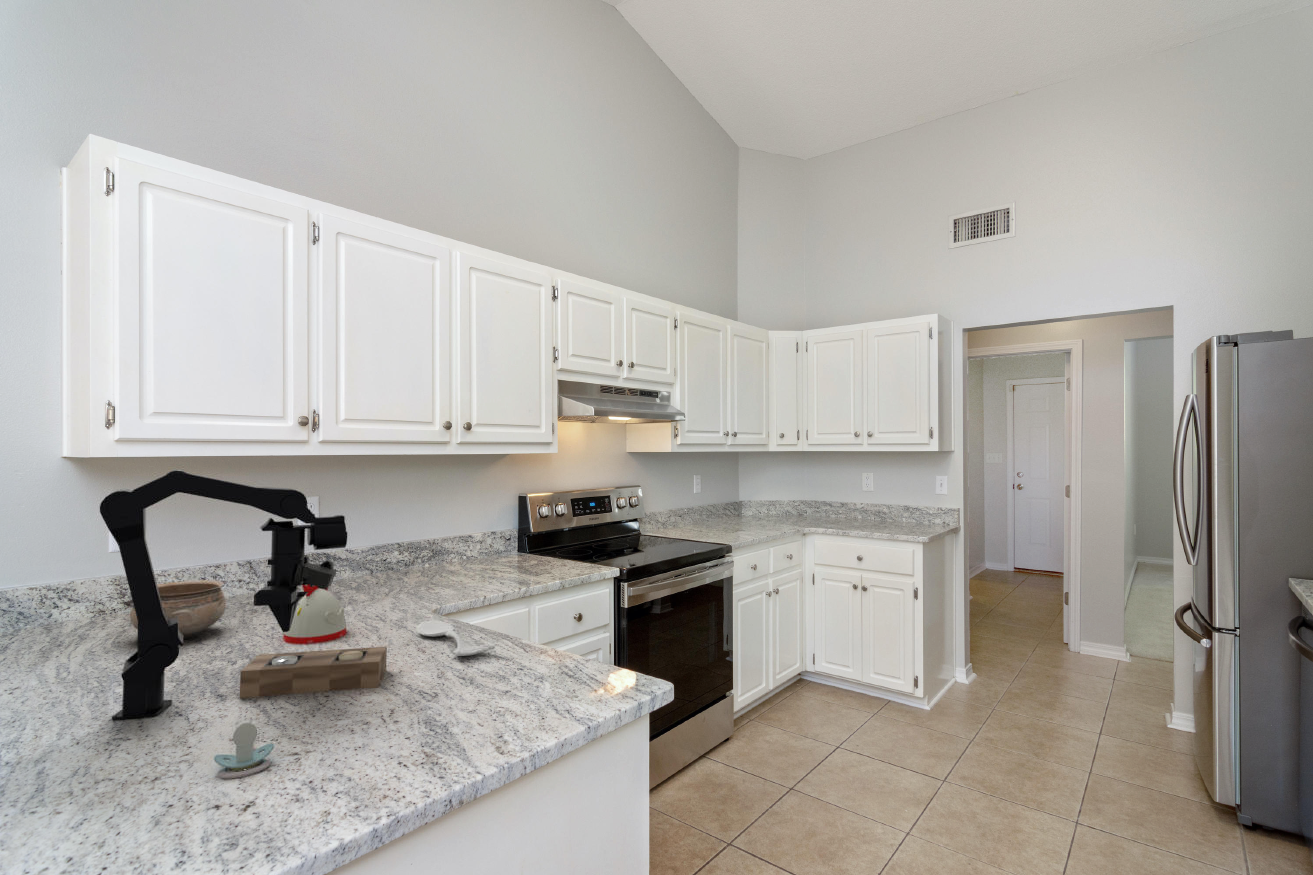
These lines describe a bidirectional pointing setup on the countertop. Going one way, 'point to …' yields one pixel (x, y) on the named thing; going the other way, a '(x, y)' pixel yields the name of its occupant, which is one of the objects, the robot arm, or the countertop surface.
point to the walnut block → (313, 672)
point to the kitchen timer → (316, 618)
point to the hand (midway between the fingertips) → (286, 631)
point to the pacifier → (244, 754)
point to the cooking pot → (190, 605)
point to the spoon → (447, 629)
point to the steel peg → (284, 660)
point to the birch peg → (351, 655)
